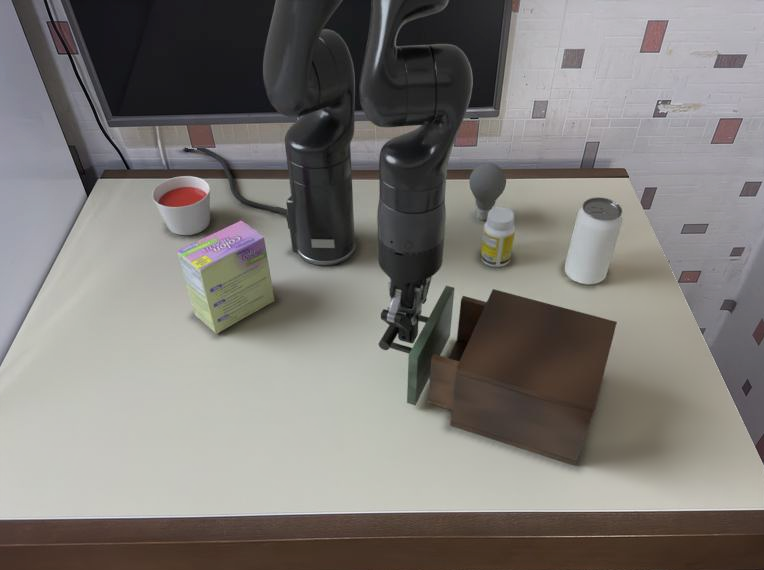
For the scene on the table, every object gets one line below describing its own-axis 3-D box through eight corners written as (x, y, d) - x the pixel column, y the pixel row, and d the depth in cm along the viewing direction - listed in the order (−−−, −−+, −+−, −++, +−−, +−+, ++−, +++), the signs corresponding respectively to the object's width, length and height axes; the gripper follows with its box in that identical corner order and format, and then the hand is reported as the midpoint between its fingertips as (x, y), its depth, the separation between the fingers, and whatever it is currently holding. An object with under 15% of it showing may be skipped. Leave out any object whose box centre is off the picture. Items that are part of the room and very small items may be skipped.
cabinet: (449, 425, 84) (456, 367, 77) (484, 347, 94) (492, 288, 86) (574, 465, 81) (594, 409, 73) (597, 379, 90) (617, 321, 82)
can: (605, 289, 103) (625, 224, 94) (563, 283, 104) (579, 218, 95) (605, 262, 107) (624, 198, 99) (564, 257, 108) (580, 193, 99)
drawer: (368, 391, 87) (367, 342, 80) (407, 323, 96) (408, 275, 89) (518, 438, 82) (529, 391, 76) (544, 362, 91) (556, 314, 84)
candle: (200, 244, 109) (192, 211, 104) (151, 234, 111) (141, 201, 106) (226, 213, 115) (219, 181, 110) (178, 204, 117) (170, 172, 112)
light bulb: (463, 208, 117) (468, 156, 110) (496, 206, 118) (504, 155, 110) (469, 228, 113) (474, 176, 106) (504, 227, 114) (512, 174, 106)
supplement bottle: (508, 249, 109) (515, 205, 103) (512, 267, 106) (519, 223, 100) (478, 249, 109) (484, 205, 103) (481, 267, 106) (487, 223, 100)
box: (252, 283, 103) (240, 218, 94) (275, 301, 100) (265, 236, 91) (193, 315, 97) (175, 250, 89) (216, 335, 95) (199, 270, 86)
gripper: (401, 191, 80) (399, 299, 93) (356, 255, 72) (361, 365, 84) (461, 205, 79) (451, 313, 91) (422, 273, 70) (417, 382, 83)
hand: (407, 338), depth 88 cm, fingers closed
